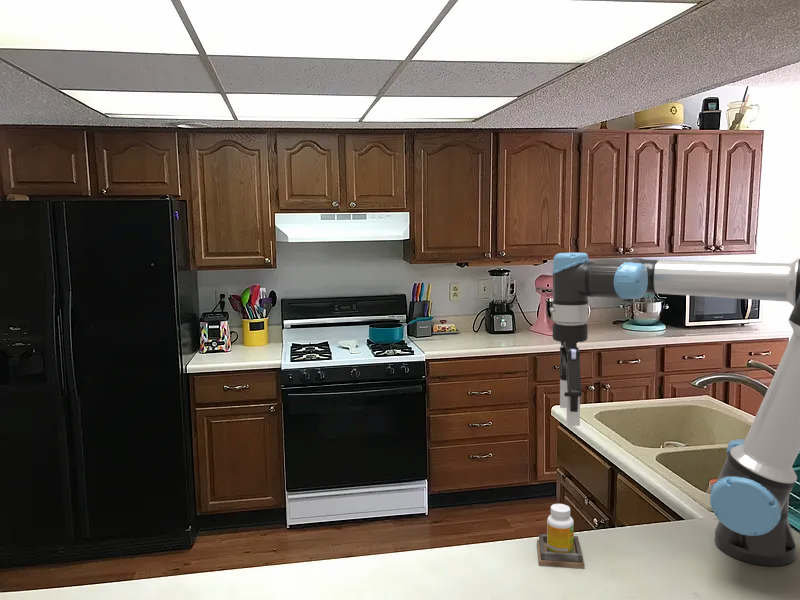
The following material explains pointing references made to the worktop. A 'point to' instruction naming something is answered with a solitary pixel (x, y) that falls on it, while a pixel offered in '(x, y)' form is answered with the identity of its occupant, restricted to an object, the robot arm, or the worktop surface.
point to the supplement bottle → (560, 529)
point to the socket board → (559, 555)
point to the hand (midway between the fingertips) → (569, 416)
